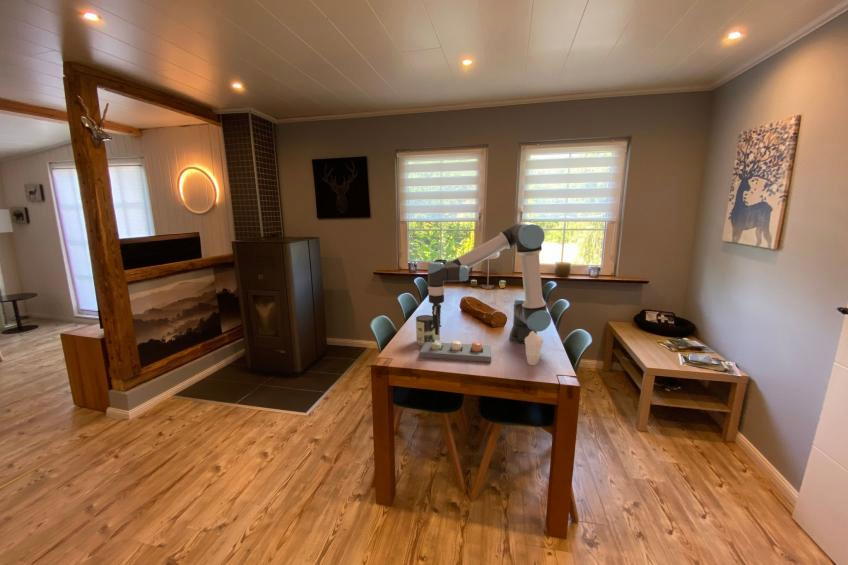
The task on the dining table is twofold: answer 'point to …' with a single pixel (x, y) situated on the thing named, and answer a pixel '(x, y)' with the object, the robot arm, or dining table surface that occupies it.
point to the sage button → (436, 346)
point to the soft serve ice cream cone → (533, 347)
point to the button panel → (456, 353)
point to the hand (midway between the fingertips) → (437, 339)
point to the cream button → (455, 346)
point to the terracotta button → (476, 347)
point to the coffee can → (424, 329)
